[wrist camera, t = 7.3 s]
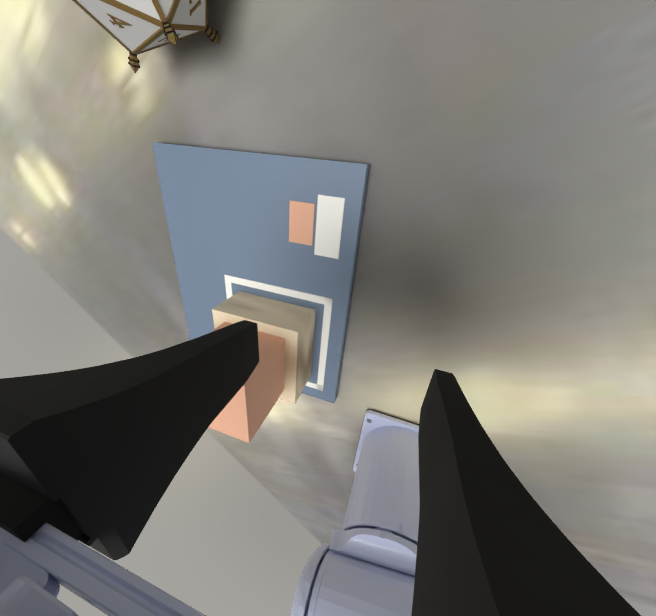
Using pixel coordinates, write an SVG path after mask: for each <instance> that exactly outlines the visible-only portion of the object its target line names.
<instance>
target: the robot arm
mask: <svg viewBox="0 0 656 616" xmlns="http://www.w3.org/2000/svg"><path fill="white" fill-rule="evenodd" d="M258 363H259V344H258V327H257V323H255V322H251V321H247V320H243V321H240V322H237V323H234V324H231V325H228V326H226V327H223V328H221V329H218V330H216V331H213V332H211V333H208V334H205V335H203V336H200V337H198V338H195V339H192V340H189V341H187V342H184V343H181V344H178V345H175V346H172V347H169V348H166V349H163V350H160V351H157V352H153V353H150V354H146V355H143V356H139V357H135V358H131V359H127V360H123V361H118V362H114V363H109V364H104V365H100V366H94V367H89V368H83V369H77V370H71V371H64V372H58V373H50V374H42V375H33V376H24V377H15V378H4V379H0V616H78V615H77V614H76V613H75V612H74V611H73V610H72V609H70V608H69V607H68V606H66V605H65V604H64V603H62V602H61V601H59V600H58V599H57V595H58V592H59V588H60V585H59V584H61V585H62V586H64V587H65V588H67V589H68V590H70V591H71V592H73V593H74V594H76V595H77V596H79V597H81V598H82V599H84V600H85V601H87V602H88V603H90V604H91V605H93V606H95V607H96V608H98V609H99V610H101V611H102V612H104V613H105V614H107V615H108V616H206V615H204V614H202V613H201V612H199V611H197V610H195V609H194V608H192V607H190V606H188V605H187V604H185V603H183V602H182V601H180V600H178V599H176V598H175V597H173V596H171V595H169V594H168V593H166V592H165V591H163V590H161V589H159V588H158V587H156V586H154V585H152V584H151V583H149V582H147V581H145V580H144V579H142V578H140V577H139V576H137V575H135V574H134V573H132V572H130V571H128V570H127V569H125V568H123V567H122V566H120V565H118V564H116V563H115V562H113V561H111V560H110V559H108V558H106V557H104V556H103V555H101V554H99V553H98V552H96V551H94V550H92V549H91V548H89V547H87V546H86V545H88V546H91V547H92V548H94V549H95V550H97V551H99V552H101V553H103V554H104V555H106V556H107V557H109V558H111V559H113V560H118V559H120V558H122V557H124V556H126V555H127V554H129V553H130V551H131V550H132V548H133V546H134V544H135V542H136V540H137V539H138V537H139V535H140V533H141V532H142V530H143V528H144V526H145V525H146V523H147V521H148V519H149V518H150V516H151V514H152V512H153V511H154V508H155V507H156V506H157V504H158V502H159V500H160V499H161V497H162V496H163V494H164V492H165V491H166V489H167V487H168V486H169V484H170V483H171V481H172V479H173V478H174V476H175V475H176V473H177V472H178V470H179V469H180V467H181V466H182V464H183V462H184V461H185V459H186V458H187V456H188V455H189V453H190V452H191V451H192V449H193V448H194V446H195V445H196V443H197V442H198V441H199V439H200V438H201V436H202V435H203V433H204V432H205V431H206V429H207V428H208V427H209V426H210V424H211V423H212V422H213V421H214V419H215V418H216V417H217V416H218V415H219V414H220V412H221V411H222V410H223V409H224V408H225V406H226V405H227V404H228V403H229V402H230V401H231V399H232V398H233V397H234V396H235V395H236V394H237V392H238V391H239V390H240V389H241V388H242V386H243V385H244V384H245V383H246V381H247V380H248V379H249V377H250V376H251V374H252V373H253V371H254V369H255V368H256V366H257V364H258ZM370 419H371V420H370ZM353 470H354V472H356V473H355V477H354V482H353V486H352V490H351V494H350V498H349V502H348V506H347V510H346V514H345V518H344V523H343V527H342V530H338V529H334V531H333V535H332V539H331V542H330V545H329V544H326V543H325V544H322V545H321V546H319V547H318V548H317V550H316V551H315V552H314V553H313V554H312V555H311V556H310V558H309V559H308V561H307V562H306V564H305V566H304V569H303V571H302V574H301V576H300V579H299V582H298V586H297V589H296V592H295V596H294V600H293V605H292V610H291V615H290V616H641V615H640V614H639V613H638V612H637V611H636V610H635V609H634V608H633V607H632V606H631V605H630V604H629V603H628V602H627V601H626V600H625V599H624V598H623V597H622V596H621V595H620V594H619V593H618V592H617V591H616V590H615V589H614V588H613V587H612V586H611V585H610V584H609V583H608V582H607V581H606V580H605V579H604V577H603V576H602V575H601V574H600V573H599V572H598V571H597V570H596V569H595V568H594V567H593V566H592V565H591V564H590V563H589V562H588V561H587V560H586V558H585V557H584V556H583V555H582V554H581V553H580V552H579V551H578V550H577V549H576V547H575V546H574V545H573V544H572V543H571V542H570V541H569V540H568V539H567V538H566V536H565V535H564V534H563V533H562V532H561V531H560V529H559V528H558V527H557V526H556V525H555V524H554V523H553V521H552V520H551V519H550V518H549V517H548V516H547V514H546V513H545V512H544V511H543V510H542V509H541V507H540V506H539V505H538V504H537V502H536V501H535V500H534V499H533V498H532V496H531V495H530V494H529V493H528V491H527V490H526V489H525V488H524V486H523V485H522V484H521V482H520V481H519V480H518V478H517V477H516V476H515V474H514V473H513V472H512V470H511V469H510V468H509V466H508V465H507V464H506V462H505V461H504V459H503V458H502V456H501V455H500V454H499V452H498V451H497V449H496V448H495V446H494V445H493V443H492V442H491V440H490V438H489V437H488V435H487V434H486V432H485V430H484V429H483V427H482V425H481V424H480V422H479V420H478V419H477V417H476V415H475V414H474V412H473V410H472V408H471V407H470V405H469V403H468V401H467V399H466V398H465V396H464V394H463V392H462V390H461V388H460V386H459V384H458V382H457V380H456V378H455V376H454V375H453V374H452V373H448V372H444V371H440V370H437V369H435V370H434V372H433V375H432V378H431V381H430V384H429V387H428V390H427V393H426V396H425V399H424V401H423V404H422V407H421V413H420V423H419V426H418V425H415V424H412V423H409V422H406V421H403V420H399V419H396V418H393V417H390V416H387V415H384V414H381V413H378V412H374V411H371V410H368V411H366V413H365V417H364V421H363V426H362V430H361V435H360V439H359V444H358V448H357V453H356V457H355V462H354V466H353ZM78 540H79V541H81V542H83V543H84V544H86V545H84V544H82V543H81V542H79V541H78Z"/></svg>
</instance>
